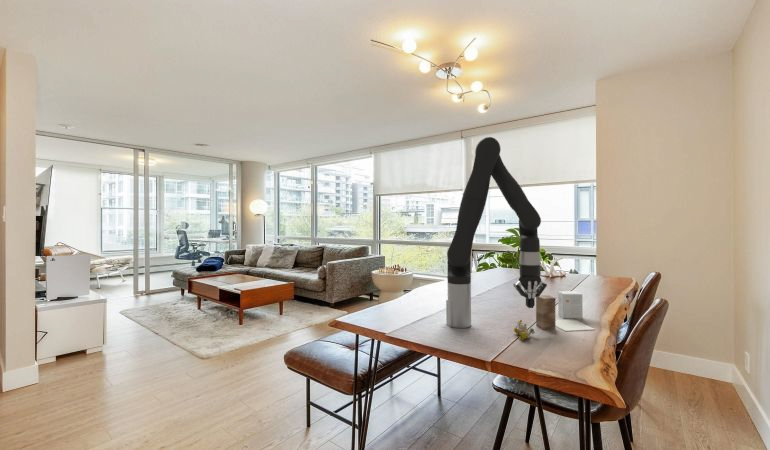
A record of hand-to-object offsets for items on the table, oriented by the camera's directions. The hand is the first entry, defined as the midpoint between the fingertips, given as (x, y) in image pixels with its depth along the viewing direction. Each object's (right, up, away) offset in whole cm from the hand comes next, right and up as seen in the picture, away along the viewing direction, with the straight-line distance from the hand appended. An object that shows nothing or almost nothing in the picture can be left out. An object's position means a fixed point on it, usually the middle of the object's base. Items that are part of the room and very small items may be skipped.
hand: (530, 307), depth 137 cm
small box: (+23, -8, +15) cm, 28 cm away
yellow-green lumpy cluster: (-5, -9, -7) cm, 12 cm away
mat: (+17, -8, +3) cm, 19 cm away
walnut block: (+6, -8, +1) cm, 10 cm away
